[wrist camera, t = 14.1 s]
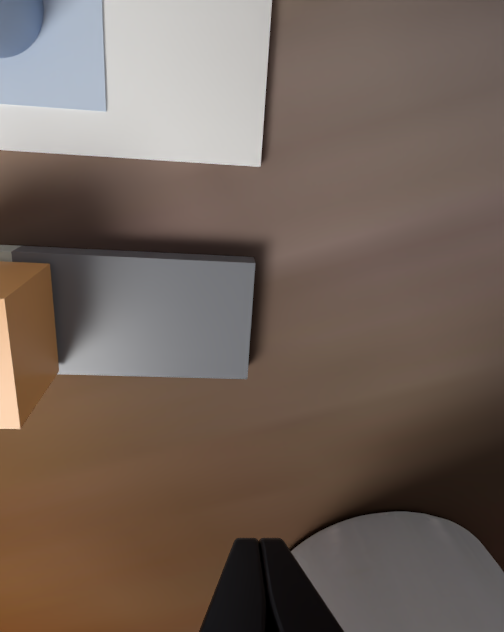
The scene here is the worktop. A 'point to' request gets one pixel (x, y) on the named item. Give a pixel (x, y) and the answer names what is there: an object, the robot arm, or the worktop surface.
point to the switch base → (148, 311)
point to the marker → (19, 25)
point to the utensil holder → (404, 575)
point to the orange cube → (25, 339)
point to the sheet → (141, 81)
